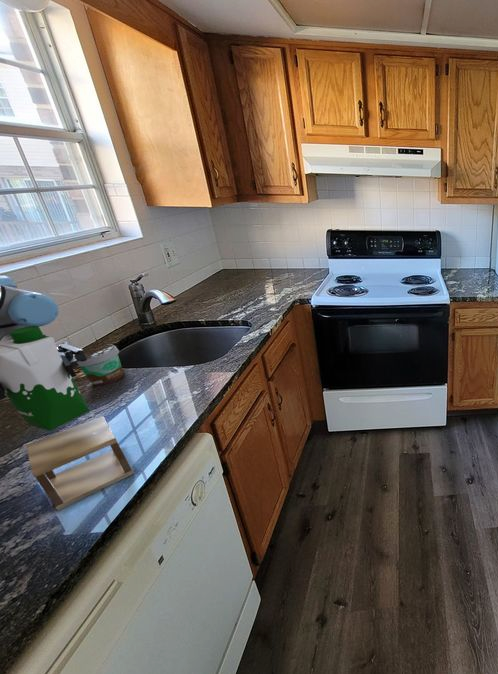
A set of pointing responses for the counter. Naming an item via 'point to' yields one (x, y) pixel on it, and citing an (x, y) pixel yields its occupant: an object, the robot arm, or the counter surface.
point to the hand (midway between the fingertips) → (36, 381)
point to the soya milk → (38, 380)
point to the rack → (84, 475)
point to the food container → (103, 366)
